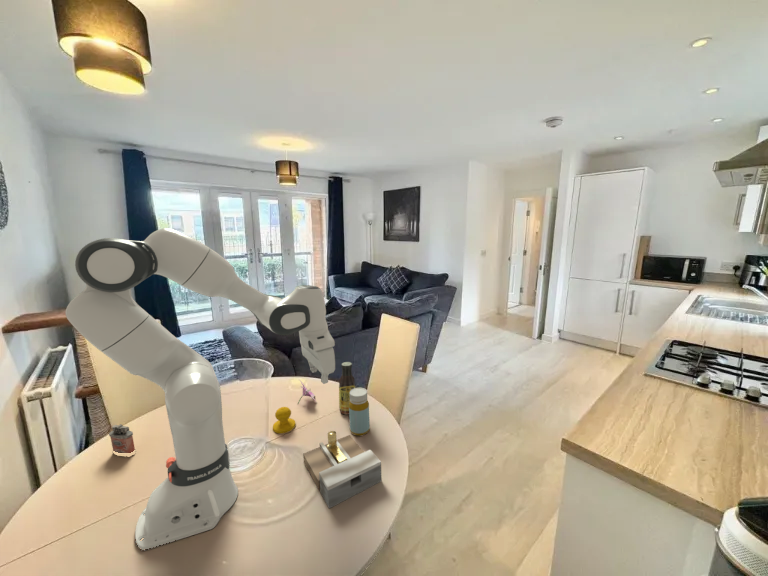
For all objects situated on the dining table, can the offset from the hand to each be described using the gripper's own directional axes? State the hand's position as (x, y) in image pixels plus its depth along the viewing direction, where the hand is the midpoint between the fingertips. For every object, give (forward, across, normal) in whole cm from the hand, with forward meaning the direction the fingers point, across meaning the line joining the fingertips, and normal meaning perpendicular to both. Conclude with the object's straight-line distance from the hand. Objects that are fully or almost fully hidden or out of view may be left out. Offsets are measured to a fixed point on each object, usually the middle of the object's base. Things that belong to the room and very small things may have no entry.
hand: (319, 376), depth 100 cm
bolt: (+22, +11, -1) cm, 24 cm away
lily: (+25, -31, +4) cm, 40 cm away
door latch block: (+25, +13, -1) cm, 28 cm away
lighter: (+22, -34, -57) cm, 70 cm away
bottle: (+26, -1, +13) cm, 29 cm away
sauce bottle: (+26, -15, +15) cm, 33 cm away
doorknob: (+25, -19, -9) cm, 32 cm away
